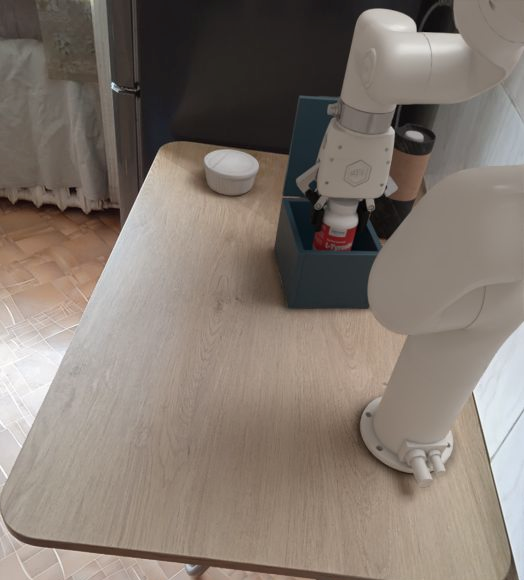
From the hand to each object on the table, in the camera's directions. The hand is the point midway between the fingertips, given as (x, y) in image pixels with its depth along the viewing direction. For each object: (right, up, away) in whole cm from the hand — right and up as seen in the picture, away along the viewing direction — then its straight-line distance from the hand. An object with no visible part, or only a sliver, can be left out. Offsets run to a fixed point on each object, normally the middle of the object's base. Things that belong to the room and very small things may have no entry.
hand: (336, 226), depth 90 cm
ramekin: (-19, +15, +29) cm, 38 cm away
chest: (-2, -7, +10) cm, 13 cm away
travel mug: (+13, +5, +24) cm, 28 cm away
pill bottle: (-1, -4, +4) cm, 6 cm away
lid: (0, +12, +1) cm, 12 cm away
